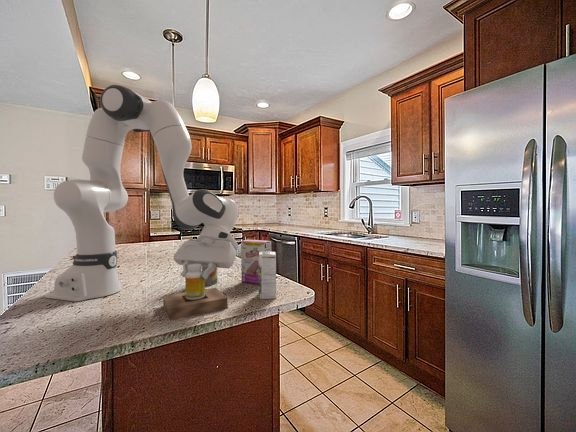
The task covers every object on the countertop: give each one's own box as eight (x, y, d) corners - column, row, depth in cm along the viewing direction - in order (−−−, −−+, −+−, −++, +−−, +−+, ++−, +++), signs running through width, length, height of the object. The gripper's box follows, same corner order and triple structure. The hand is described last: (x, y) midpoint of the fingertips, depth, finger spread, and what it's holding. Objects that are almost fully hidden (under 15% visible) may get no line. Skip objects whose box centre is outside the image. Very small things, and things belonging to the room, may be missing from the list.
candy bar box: (240, 282, 109) (240, 240, 109) (247, 279, 114) (247, 239, 113) (266, 285, 105) (265, 242, 104) (272, 282, 109) (271, 240, 109)
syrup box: (258, 293, 95) (258, 251, 95) (276, 293, 96) (275, 251, 95) (258, 299, 90) (257, 254, 89) (276, 298, 90) (276, 254, 90)
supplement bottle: (204, 299, 82) (202, 266, 81) (184, 300, 81) (183, 267, 80) (205, 293, 87) (204, 262, 86) (187, 294, 86) (186, 263, 85)
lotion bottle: (220, 282, 110) (219, 231, 109) (209, 286, 105) (208, 232, 104) (210, 280, 113) (209, 230, 112) (199, 283, 108) (198, 232, 107)
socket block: (169, 319, 75) (168, 308, 74) (163, 305, 85) (163, 296, 85) (227, 307, 83) (227, 297, 83) (215, 296, 93) (215, 287, 93)
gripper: (181, 233, 93) (159, 269, 84) (235, 234, 86) (217, 273, 77) (191, 244, 97) (171, 279, 89) (243, 246, 90) (227, 285, 82)
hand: (193, 277), depth 83 cm, fingers closed on supplement bottle, 5 cm apart
